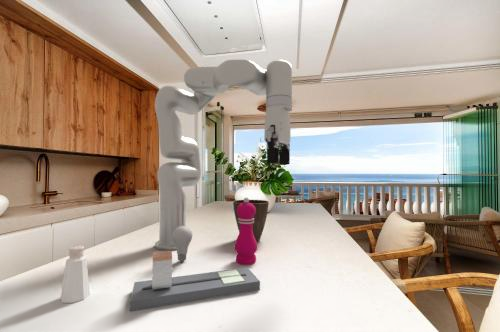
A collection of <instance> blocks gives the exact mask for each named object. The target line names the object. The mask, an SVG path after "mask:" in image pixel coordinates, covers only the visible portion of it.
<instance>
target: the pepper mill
mask: <svg viewBox="0 0 500 332" xmlns="http://www.w3.org/2000/svg"><path fill="white" fill-rule="evenodd" d="M243 200H244V203H241V204H240V205H239V206H238V207H237V214H238V216H239V217H240V218H238V220H239V221H238V222H239V223H240V232H239V231H238V236H237V238H236V240H235V242H234V251H235V253H236V255H235V262H236V263H237V264H239V265H245V266H246V265H247V266H248V265H253V264H255V263H256V262H257V255H256V253H257V251H258V241H257V242H256V239H255V237H254V234H253V230H252V226H253V223H254V218H253V216H254V215H255V213H256V209H255V206H254V205H253V204H251V203H248V202H249V200H250V198H248V197H244V199H243Z"/></svg>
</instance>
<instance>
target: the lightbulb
mask: <svg viewBox="0 0 500 332" xmlns="http://www.w3.org/2000/svg"><path fill="white" fill-rule="evenodd" d="M192 238H193V232H192V230H191V229H190V228H189V227H187V226H180V227H178V228H176V229H175V230H174V232H173V234H172V239H173V242H174V244H175V246H176V249H175V250H176V254H177V261H179V262H181V263H183V262H184V261H186V260H187V254H188V249H189V245H190V243H191V241H192Z"/></svg>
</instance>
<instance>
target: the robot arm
mask: <svg viewBox="0 0 500 332" xmlns="http://www.w3.org/2000/svg"><path fill="white" fill-rule="evenodd" d="M183 82H184V84H185V86H186V87H187V88H188V89H190V90H191V91H193V93H192V92H190V91H187V90H186V89H182V88H180V87H177V86H172V85H166V86H162V87H161V88H160V89H159V90H158V92H157V93H156V96H155V100H154V111H155V114H156V118H157V119H156V120H157V123H158V135H159V136H158V138H159V139H158V140H159V149H160V151H159V152H160V153H161V156H162V157H163V158H165V159H168V160H169V159H170V160H180V161H181V162H178V161H175V162H174V161H173V162H172V161H171V162H165V163H163V164H161V165H160V166H159V168H158V170H157V175H156V176H157V182H158V187H159V188H158V189H159V235H158V236H159V237H158V238H159V240H157V241H156V242H155V243H154V247H155V248H156V249H158V250H163V251H173V250H174V251H175V250H177V249H176V246H175V244H174V242H173V239H172V234H173V232H174V230H175V229H176V228H178V227H180V226H186V223H187V222H186V220H187V214H186V213H187V199H186V198H187V197H186V194H185V192H184V189H183V187H194V186H196V185H197V184H198V183H199V182H200V180H201V176H202V170H201V168H202V167H201V158H200V148H199V145H198V143H197V142H196V141H195V139H193V138H192V137H187V136H184V135H183V132H182V131H183V130H182V123H181V121H180V118H179V117H178V114H177V113H176V111H177V112H179V113H182V114H187V115H191V116H193V115H197V114H198V113H200V112H201V111H203V109H204V108H205V107H207V105H208V104H210V103H211V102H212V101H213V100H214V99H215V98H216V97H217V96H218V95H219V94H222V93H225V92H226V91H228V89H229V86H236V87H241V88H243V89H245V90H247V91H249V92H251V93H252V94H254V95H256V96H266V97H265V99H266V100H265V119H264V132H263V133H264V135H263V138H264V141H265V143H266V145H265V146H266V163H267V164H279V165H281V166H282V165H290V160H291V159H290V158H291V157H290V156H291V155H290V151H291V149H290V147H291V145H290V143H291V118H290V117H291V115H290V112H291V111H292V110H293V67H292V64H291V63H290V62H289V61H287V60H283V59H277V60H272V61H271V62H269V63H268V64H267V66H266V69H263V68H262V67H260V66H259V64H256V63H255V62H254V61H251V60H249V59H248V60H247V59H227V60H225V61H223V62H221V63H220V64H219V65H218V66H193V67H190V68H188V69H187V70H186V71H185V73H184V74H183ZM278 147H279V148H278ZM186 227H187V226H186Z"/></svg>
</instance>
